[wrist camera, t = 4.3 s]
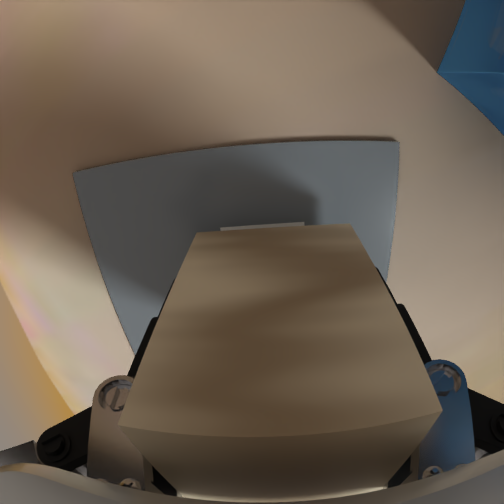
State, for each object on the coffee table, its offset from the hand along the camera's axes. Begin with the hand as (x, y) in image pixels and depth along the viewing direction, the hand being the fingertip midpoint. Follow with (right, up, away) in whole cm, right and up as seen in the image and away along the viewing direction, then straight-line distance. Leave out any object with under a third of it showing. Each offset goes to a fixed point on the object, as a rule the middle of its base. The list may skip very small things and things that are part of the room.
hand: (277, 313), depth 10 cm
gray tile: (-1, 0, +3) cm, 3 cm away
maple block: (0, +1, +1) cm, 1 cm away
